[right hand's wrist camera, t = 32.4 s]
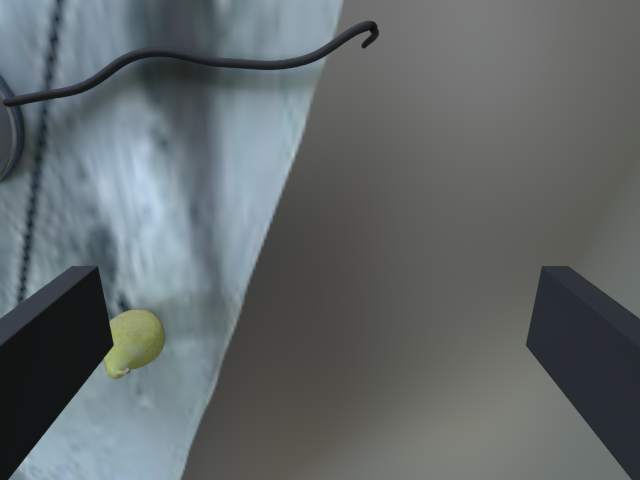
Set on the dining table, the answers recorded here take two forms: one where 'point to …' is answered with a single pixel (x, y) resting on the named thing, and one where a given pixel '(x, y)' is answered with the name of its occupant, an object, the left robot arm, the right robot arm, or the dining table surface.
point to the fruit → (133, 341)
